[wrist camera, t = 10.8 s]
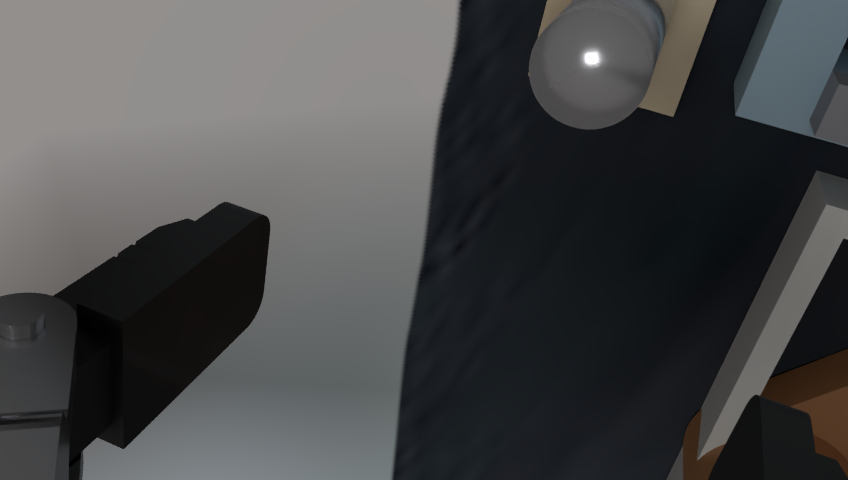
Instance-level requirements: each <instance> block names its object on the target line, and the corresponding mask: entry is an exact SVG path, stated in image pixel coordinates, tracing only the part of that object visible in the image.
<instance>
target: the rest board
mask: <svg viewBox="0 0 848 480" xmlns="http://www.w3.org/2000/svg"><path fill="white" fill-rule="evenodd" d="M572 1H573V0H547V4H546V7H545V11H544V15H543V19H542V23H541V27H540V31H539V34H538V37H539V36H540V34H541V33H542V32H543V31H544V29H545V28H546V27H547V26H548V25H549V24H550V23H551V22H552V21H553V20H554V19H555V18H556V17H557V16H558V15H559V14H560V13H561V12H562V11H563V10H564V9H565V8H566V7H567V6H568V5H569V4H570V3H571V2H572ZM715 3H716V0H676V1H675V6H674V10H673V13H672V16H671V19H670V22H669V26H668V29H667V32H666V35H665V38H664V41H663V44H662V47H661V50H660V54H659V57H658V60H657V63H656V66H655V69H654V72H653V75H652V79H651V82H650V85H649V88H648V90H647V93H646V95H645V97H644V98H643V100H642V102H641V103H640V105H639V106H638V107H640V108H644V109H647V110H651V111H654V112H658V113H661V114H665V115H668V116H672V117H674V114H675V111H676V109H677V106H678V103H679V101H680V98H681V95H682V92H683V90H684V87H685V84H686V81H687V79H688V76H689V73H690V71H691V68H692V65H693V62H694V60H695V57H696V54H697V52H698V49H699V46H700V43H701V41H702V38H703V35H704V33H705V30H706V27H707V24H708V22H709V19H710V16H711V14H712V11H713V8H714V5H715ZM537 39H538V38H537ZM528 76H529V73H528Z"/></svg>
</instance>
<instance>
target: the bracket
mask: <svg viewBox="0 0 848 480" xmlns="http://www.w3.org/2000/svg"><path fill="white" fill-rule="evenodd" d="M760 396H762V397H765V398H768V399H771V400H773V401H776V402H779V403H782V404H784V405H787V406H790V407H793V408H795V409H798V410H801V411H804V412H807V413H808V414H809V415H810V418H811V423H812V430H813V437H814V444H815V451H816V453H818V454H821V455H824V456H826V457H829V458H832V459H834V460H837V462H838V463H839V465H840V466H841V468H842V469H843V471H844V472H845V474H846V475H847V477H848V349H845V350H843V351H840V352H838V353H835V354H832V355H830V356H827V357H825V358H822V359H819V360H817V361H814V362H812V363H809V364H806V365H804V366H801V367H799V368H796V369H793V370H791V371H788V372H786V373H783V374H780V375H778V376H775V377H773V378H770V379H769V380H768V381H767V383H766V385H765V387H764V389H763V391H762V393H761V395H760ZM701 413H702V409H701V410H700V411H699V412H698V413H697V414H696V415H695V416H694V417H693V419H692V420H691V421H690V423H689V425H688V427H687V429H686V432H685V435H684V441H683V480H708V478H709V475H710V473H711V470H712V468H713V466H714V464H715V462H716V460H717V459H718V457H719V455H720V453H721V451H722V449H723V447H724V445H725V444H723V445H721V446H719V447H716V448H714V449H712V450H711V451H709V452H707V453H706V454H705V455H703V456H702V457H701V458H700V459H699V460H697V454H698V444H699V435H700V425H701Z"/></svg>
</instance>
